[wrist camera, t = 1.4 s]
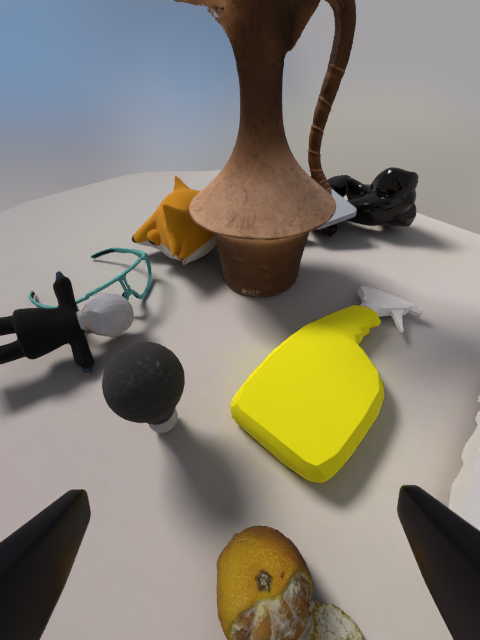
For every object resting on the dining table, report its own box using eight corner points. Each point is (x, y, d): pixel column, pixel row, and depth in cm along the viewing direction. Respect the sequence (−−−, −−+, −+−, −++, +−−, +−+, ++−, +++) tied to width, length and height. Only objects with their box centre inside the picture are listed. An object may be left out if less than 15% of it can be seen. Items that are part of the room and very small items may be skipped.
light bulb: (198, 394, 28) (181, 324, 21) (194, 454, 24) (170, 394, 17) (141, 396, 28) (103, 327, 20) (127, 457, 24) (74, 397, 17)
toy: (168, 243, 55) (132, 196, 49) (235, 206, 51) (205, 150, 44) (147, 309, 41) (93, 255, 35) (238, 266, 37) (195, 197, 30)
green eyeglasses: (93, 345, 32) (70, 312, 29) (24, 310, 39) (-1, 280, 35) (174, 278, 40) (163, 246, 37) (106, 259, 47) (92, 230, 43)
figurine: (-6, 402, 29) (145, 356, 34) (-39, 413, 23) (148, 356, 29) (-37, 296, 29) (119, 267, 34) (-76, 283, 23) (117, 251, 29)
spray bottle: (220, 412, 26) (345, 287, 39) (325, 503, 21) (430, 324, 34) (218, 396, 24) (351, 269, 37) (334, 493, 19) (442, 306, 32)
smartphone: (359, 214, 44) (320, 183, 55) (359, 208, 43) (320, 177, 54) (313, 231, 44) (283, 196, 55) (313, 225, 43) (282, 191, 54)
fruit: (241, 776, 13) (239, 819, 11) (184, 568, 19) (174, 564, 16) (372, 656, 16) (397, 668, 13) (290, 502, 21) (296, 489, 19)
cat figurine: (362, 268, 45) (289, 238, 58) (420, 220, 47) (338, 202, 60) (357, 213, 39) (276, 193, 51) (425, 160, 41) (331, 154, 54)
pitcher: (291, 233, 48) (321, -24, 28) (347, 295, 37) (464, -61, 17) (189, 253, 45) (140, -25, 25) (217, 328, 33) (169, -73, 13)
